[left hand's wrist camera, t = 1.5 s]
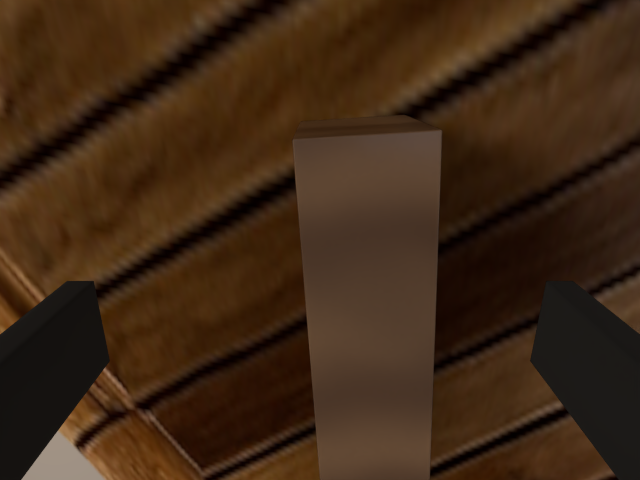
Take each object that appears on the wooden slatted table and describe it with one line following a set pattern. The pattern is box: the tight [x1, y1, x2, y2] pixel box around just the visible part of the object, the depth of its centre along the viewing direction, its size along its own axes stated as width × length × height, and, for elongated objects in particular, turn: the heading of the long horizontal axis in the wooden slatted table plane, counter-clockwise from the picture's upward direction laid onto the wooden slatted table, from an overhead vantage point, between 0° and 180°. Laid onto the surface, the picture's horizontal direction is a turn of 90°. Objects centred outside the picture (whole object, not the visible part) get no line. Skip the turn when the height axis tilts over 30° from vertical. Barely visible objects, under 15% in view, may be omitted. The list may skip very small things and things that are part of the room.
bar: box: [292, 115, 442, 480], centre depth 25 cm, size 25×6×8 cm, turn 4°
